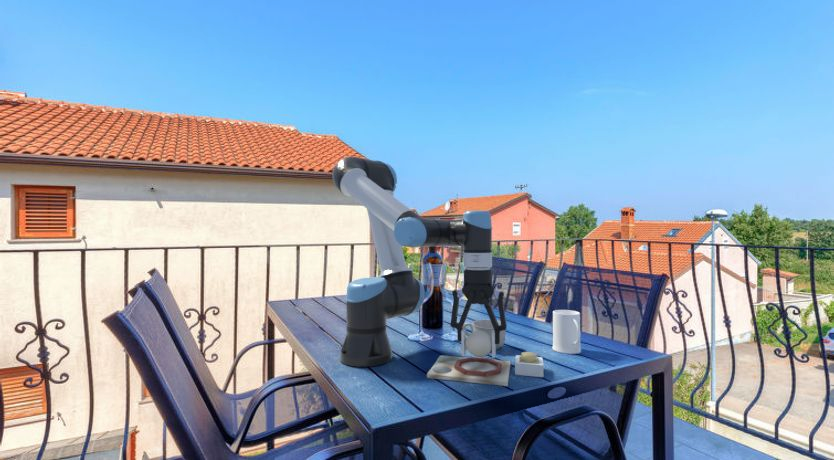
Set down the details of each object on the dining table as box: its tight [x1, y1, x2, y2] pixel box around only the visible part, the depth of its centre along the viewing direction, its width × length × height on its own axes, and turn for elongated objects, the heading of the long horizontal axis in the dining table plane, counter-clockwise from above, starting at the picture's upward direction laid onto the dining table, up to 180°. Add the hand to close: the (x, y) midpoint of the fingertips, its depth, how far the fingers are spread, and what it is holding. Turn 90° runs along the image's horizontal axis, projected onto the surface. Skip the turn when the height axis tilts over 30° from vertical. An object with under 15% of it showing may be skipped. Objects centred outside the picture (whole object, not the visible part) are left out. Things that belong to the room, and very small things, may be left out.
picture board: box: [426, 355, 511, 387], centre depth 102 cm, size 20×16×2 cm
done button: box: [520, 351, 538, 363], centre depth 102 cm, size 4×4×2 cm
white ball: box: [465, 331, 492, 358], centre depth 102 cm, size 7×7×7 cm
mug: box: [552, 309, 582, 355], centre depth 120 cm, size 12×8×12 cm
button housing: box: [514, 354, 544, 378], centre depth 102 cm, size 7×7×3 cm
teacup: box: [463, 318, 506, 350], centre depth 125 cm, size 14×11×8 cm
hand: (478, 354), depth 102 cm, fingers closed on white ball, 7 cm apart
